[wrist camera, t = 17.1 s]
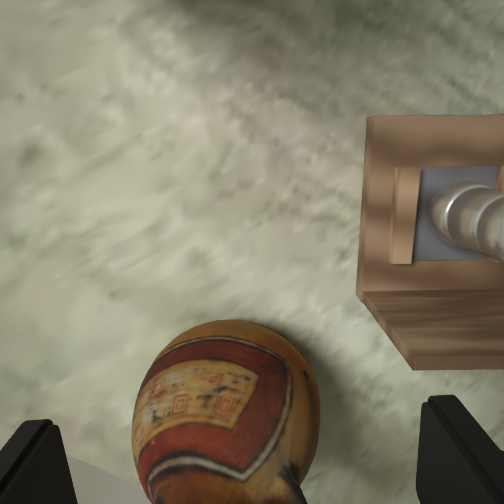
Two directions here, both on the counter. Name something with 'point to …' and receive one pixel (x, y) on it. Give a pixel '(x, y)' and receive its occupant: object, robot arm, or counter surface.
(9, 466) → the robot arm
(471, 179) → the display stand
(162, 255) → the counter surface
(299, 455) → the ceramic pitcher
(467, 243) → the plastic bottle
